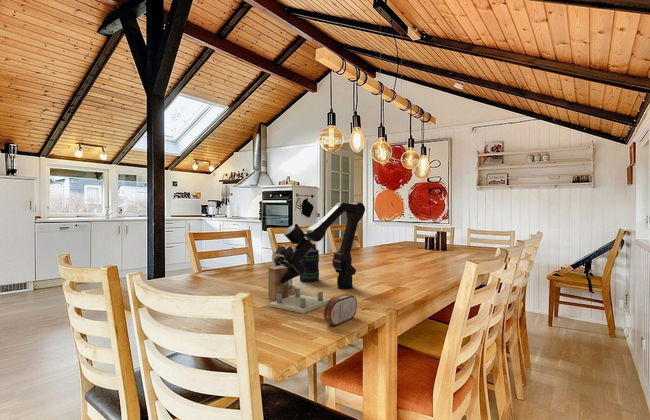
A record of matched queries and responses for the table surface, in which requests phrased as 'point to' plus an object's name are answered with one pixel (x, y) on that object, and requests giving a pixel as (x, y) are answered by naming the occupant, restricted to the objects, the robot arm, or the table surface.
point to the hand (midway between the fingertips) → (276, 280)
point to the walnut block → (277, 282)
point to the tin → (340, 309)
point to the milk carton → (274, 264)
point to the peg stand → (299, 302)
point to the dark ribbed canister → (310, 267)
